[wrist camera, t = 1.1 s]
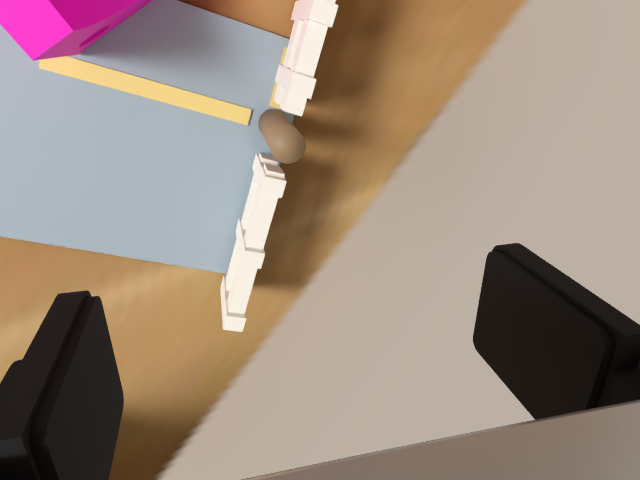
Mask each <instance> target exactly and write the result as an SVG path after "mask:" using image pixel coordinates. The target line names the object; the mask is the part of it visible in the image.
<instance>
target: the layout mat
mask: <svg viewBox="0 0 640 480" xmlns="http://www.w3.org/2000/svg"><path fill="white" fill-rule="evenodd" d="M289 40H290V39H288V38H285V37H282V36H279V35H276V34H273V33H270V32H267V31H264V30H262V29H259V28H256V27H253V26H250V25H247V24H244V23H241V22H239V21H236V20H233V19H230V18H227V17H224V16H221V15H218V14H216V13H213V12H210V11H207V10H204V9H201V8H198V7H195V6H192V5H190V4H187V3H184V2H181V1H178V0H152V1H151V2H149V3H148V4H147V5H145V6H144V7H143V8H141V9H140V10H138V11H137V12H136V13H134V14H133V15H132V16H130V17H129V18H127V19H126V20H125V21H123V22H122V23H121V24H119V25H118V26H116V27H115V28H114V29H112V30H111V31H110V32H108V33H107V34H105V35H104V36H103V37H101V38H100V39H99V40H97V41H96V42H94V43H93V44H92V45H90V46H89V47H88V48H86V49H85V50H83V51H82V52H81V53H79V54H78V55H71V56H64V57H56V58H49V59H41V60H34V61H33V60H32V59H31V58H30V57H29V56H28V55H27V54H26V53H25V52H24V50H23V49H22V48H21V47H20V46H19V45H18V44H17V43H16V41H15V40H14V39H13V38H12V37H11V36H10V35H9V34H8V33H7V31H6V30H5V29H4V28H3V27H2V26H1V25H0V236H2V237H8V238H14V239H20V240H26V241H32V242H38V243H44V244H50V245H56V246H62V247H68V248H75V249H81V250H87V251H93V252H99V253H105V254H111V255H117V256H123V257H129V258H135V259H141V260H147V261H153V262H159V263H165V264H171V265H178V266H184V267H190V268H196V269H202V270H208V271H214V272H220V273H226V274H227V273H228V269H229V265H230V261H231V258H232V254H233V250H234V246H235V243H236V239H237V238H236V227H237V223H238V220H239V218H242V216H243V213H244V209H245V205H246V201H247V198H248V194H249V190H250V186H251V183H252V179H253V175H254V172H253V169H252V167H253V163H254V159H255V155H256V153H258V154H259V153H260V152H261V153H265V154H269V155H273V154H272V152H271V150H270V148H269V146H268V144H267V142H266V141H265V139H264V137H263V135H262V133H261V131H260V129H259V125H258V121H259V118H260V116H261V114H262V113H263V112H264V111H266V110H269V109H277V110H279V111H281V112H282V113H283V114H284V115H285V116H286V117H287V119H288V120H289V121H290V122H291V123H293V119H294V116H295V114H292V113H288V112H285V111H283V110H282V109H281V108H280V104H277V103H276V102H275V101H274V96H275V92H276V89H277V85H278V83H276V82H275V77H276V74H277V70H278V66H279V64H280V65H283V62H284V59H285V55H286V51H287V47H288V44H289ZM277 161H278V160H277ZM280 165H281V162H280V161H278V166H279V167H280Z"/></svg>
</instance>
